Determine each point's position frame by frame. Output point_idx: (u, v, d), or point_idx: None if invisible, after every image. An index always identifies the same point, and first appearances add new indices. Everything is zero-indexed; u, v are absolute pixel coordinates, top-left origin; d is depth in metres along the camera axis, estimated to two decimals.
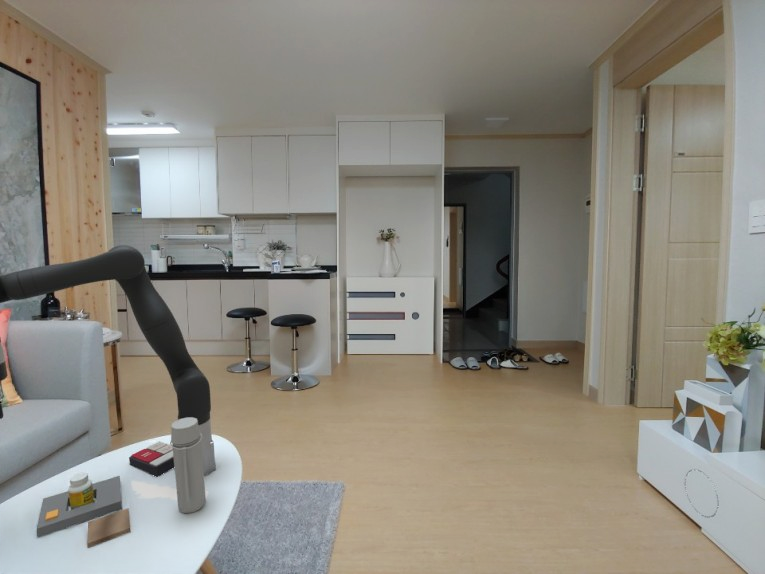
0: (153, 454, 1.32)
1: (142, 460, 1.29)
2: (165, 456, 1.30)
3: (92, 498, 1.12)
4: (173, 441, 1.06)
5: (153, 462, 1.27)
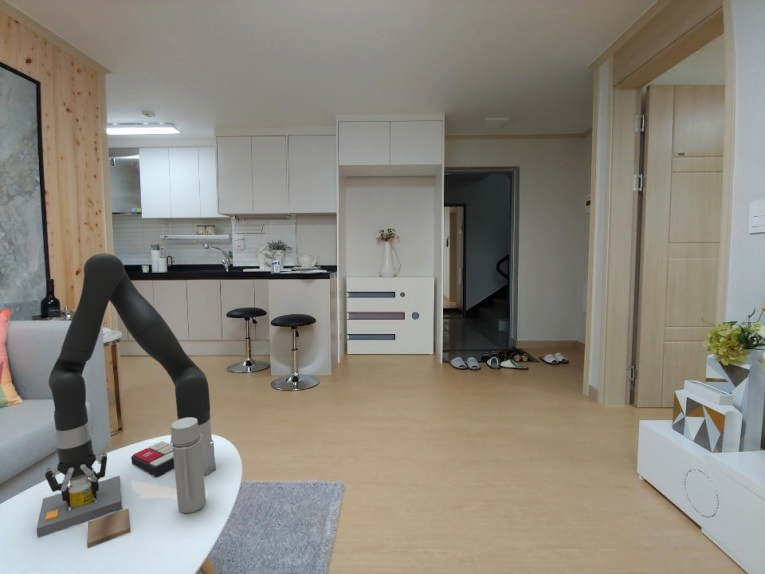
0: (154, 454, 1.32)
1: (143, 460, 1.29)
2: (165, 456, 1.30)
3: (92, 498, 1.12)
4: (173, 441, 1.06)
5: (153, 462, 1.27)
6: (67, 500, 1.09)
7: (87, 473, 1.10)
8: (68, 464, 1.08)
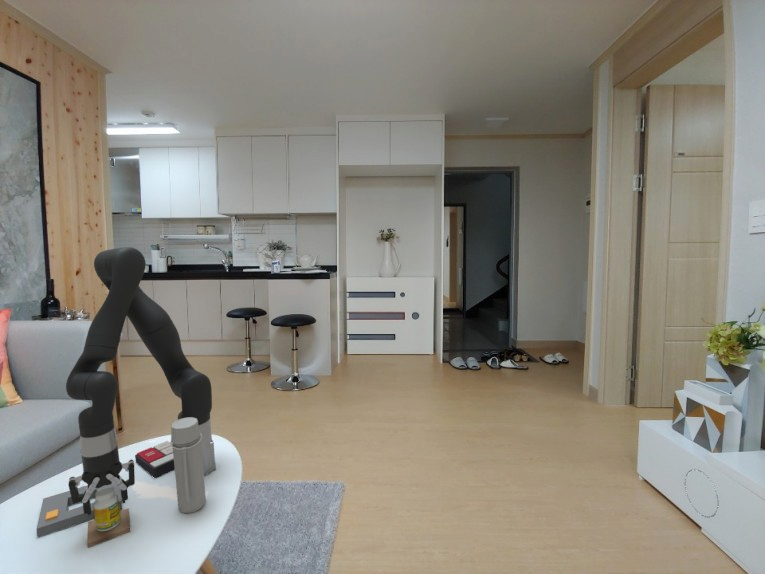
0: (156, 454, 1.32)
1: (144, 459, 1.29)
2: (166, 457, 1.30)
3: (118, 514, 1.04)
4: (173, 441, 1.06)
5: (153, 463, 1.27)
6: (89, 512, 1.00)
7: (115, 482, 1.02)
8: (93, 474, 0.99)
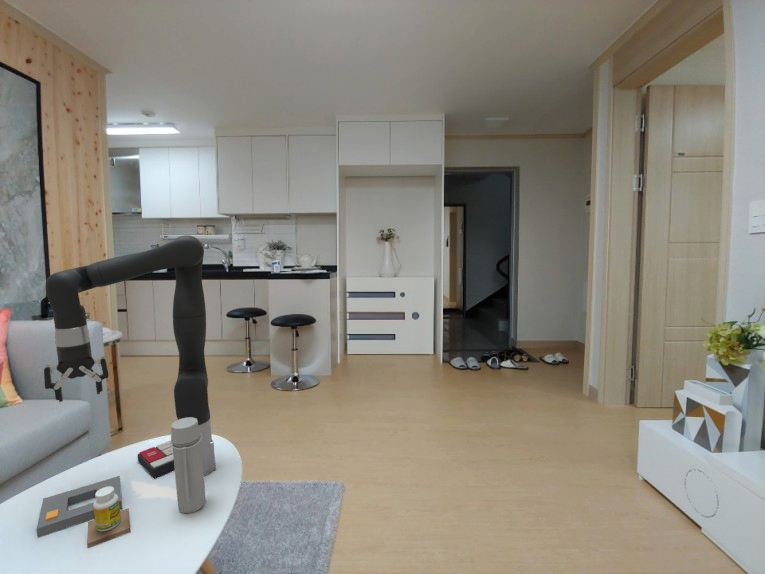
0: (157, 454, 1.32)
1: (145, 459, 1.29)
2: (166, 458, 1.29)
3: (118, 514, 1.04)
4: (173, 441, 1.06)
5: (153, 463, 1.27)
6: (60, 399, 1.10)
7: (88, 374, 1.12)
8: (67, 364, 1.10)
